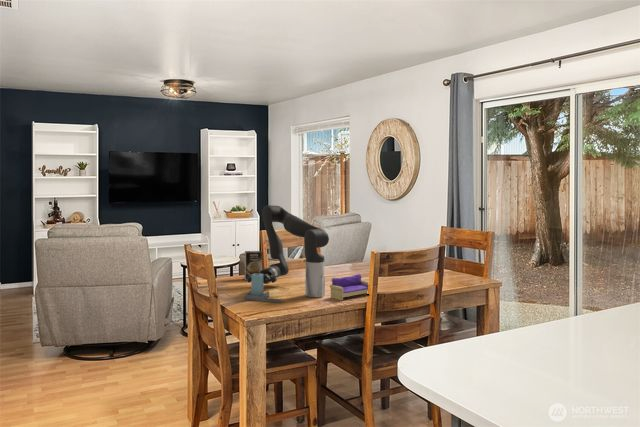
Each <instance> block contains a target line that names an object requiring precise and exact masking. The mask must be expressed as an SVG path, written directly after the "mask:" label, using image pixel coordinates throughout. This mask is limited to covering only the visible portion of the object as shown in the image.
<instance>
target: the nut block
mask: <svg viewBox="0 0 640 427" xmlns="http://www.w3.org/2000/svg"><path fill="white" fill-rule="evenodd" d="M250 283H251V285H250V286H251V289H250V291H251V295H263V294H264V285H265V284H264V274H259V273H254V274H252V282H250Z"/></svg>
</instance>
